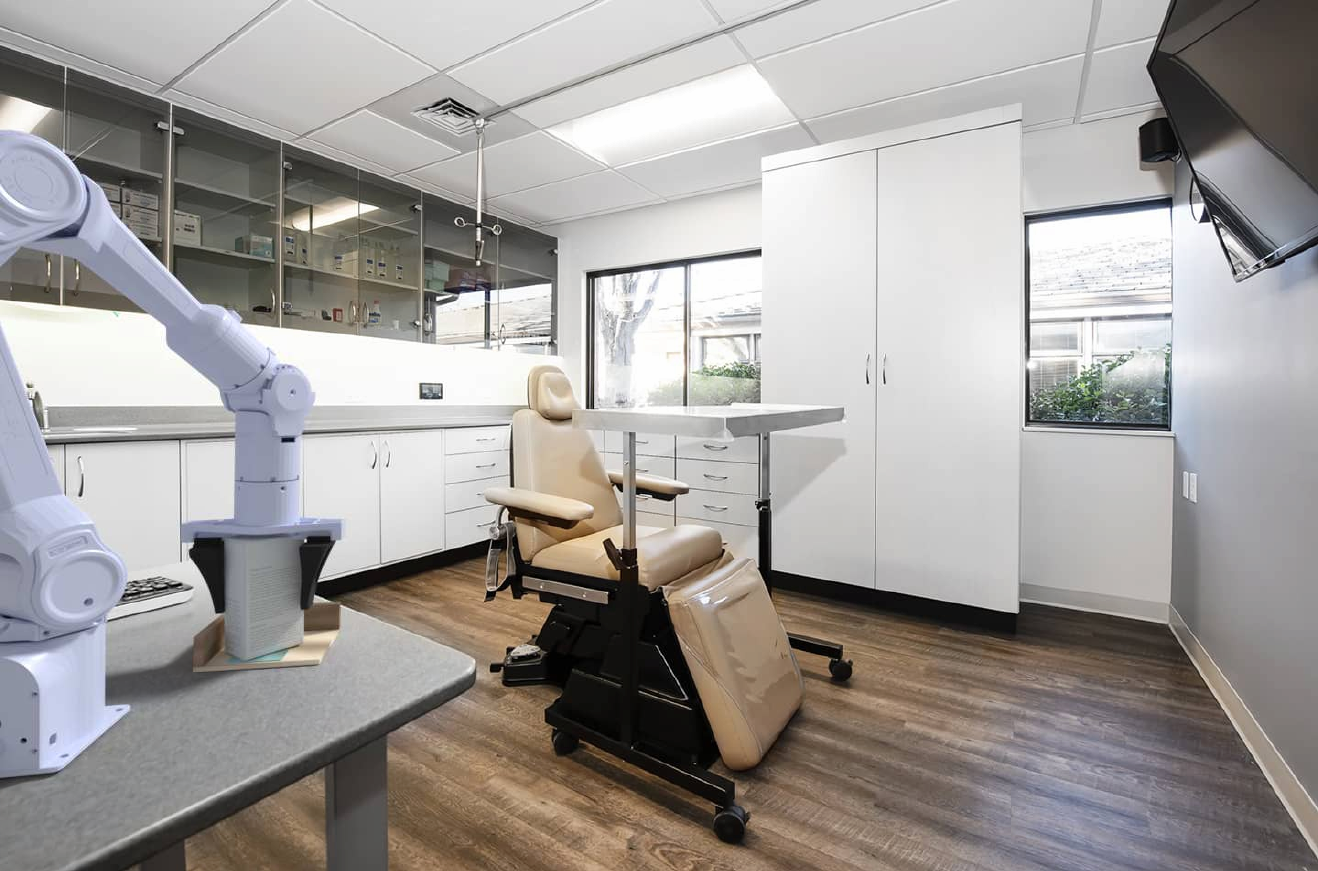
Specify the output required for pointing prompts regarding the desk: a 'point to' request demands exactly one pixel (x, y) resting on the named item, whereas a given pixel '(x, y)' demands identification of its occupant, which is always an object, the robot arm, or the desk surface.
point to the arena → (316, 643)
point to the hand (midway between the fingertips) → (265, 608)
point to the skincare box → (262, 595)
